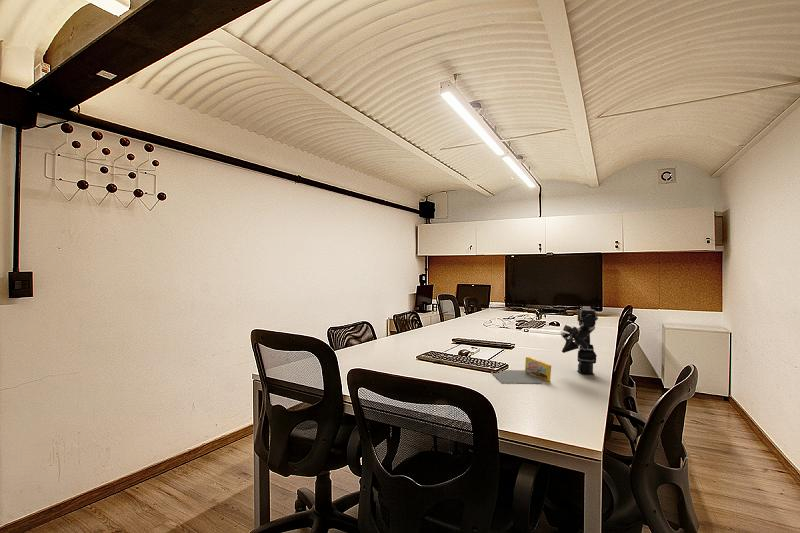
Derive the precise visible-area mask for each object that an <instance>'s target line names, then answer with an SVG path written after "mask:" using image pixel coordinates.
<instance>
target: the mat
mask: <svg viewBox="0 0 800 533" xmlns="http://www.w3.org/2000/svg"><path fill="white" fill-rule="evenodd" d="M502 370H503V371H500V372H499V373H493V372H490V373H491V374H492V375H493V376H494V377H495V379H496V380H497V381H498V380H499V381H500V382H501V383H513V385H519V384H522V385H526V384H529V385H531V384H532V385H534V384H535V385H541V384H542V381H540V380H538V379H537V377H536V376H534V375H531V374H529V373H527V372H525V369H521V370H519V369H502ZM499 381H498V382H499ZM500 382H499V383H500ZM501 383H500V384H501ZM514 383H516V384H514Z"/></svg>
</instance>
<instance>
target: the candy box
mask: <svg viewBox="0 0 800 533" xmlns="http://www.w3.org/2000/svg"><path fill="white" fill-rule="evenodd" d="M524 364H525V366H524V370H525V372H527V373H529V374H531V375H532V376H533V377H535V378H538V379H541V380H543V381H546V382H551V374H552V364H549V363H546V362H543V361H541V360H538V359H536V358H532V357H530V356H526V357H525V363H524Z"/></svg>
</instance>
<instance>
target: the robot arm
mask: <svg viewBox="0 0 800 533" xmlns="http://www.w3.org/2000/svg"><path fill="white" fill-rule="evenodd" d="M598 316H599V315H598V313H597V312H596V310H595V309H592V307H591V306H587V305H585V306H584V305H582V306H580V309H579V311H577V322H578V326H579V327H576V326H569V325H567V324H565V325H564V326H563V329H562V331H563V332H562V333H560V336H561V337H562V338H563V339H564V340H565V344H564V346H563V348H562V349H561V352H562V353H563V354H564V353H568V352H570V351H574V350H577V362H578V364H577V370H576V371H577V372H578V373H580V374H581V375H590V376H591V375H592V376H593V375H595V373H594V364H597V354H596V352H595V348H594V345H593V344H591V333H593V331H595V328H596V323H597V320H599V319H598V318H599V317H598Z"/></svg>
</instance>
